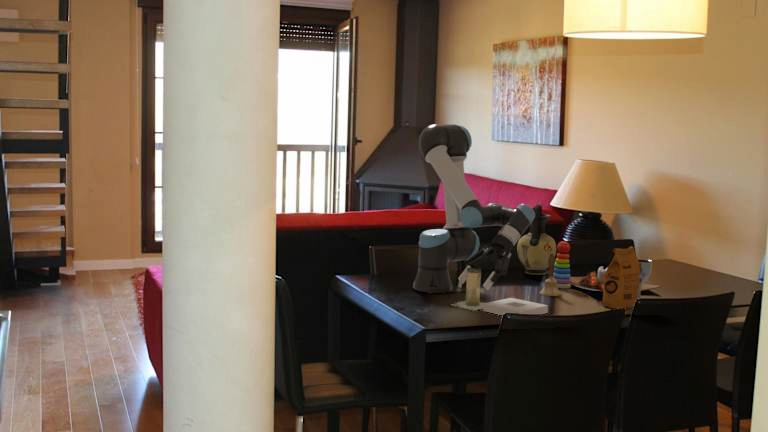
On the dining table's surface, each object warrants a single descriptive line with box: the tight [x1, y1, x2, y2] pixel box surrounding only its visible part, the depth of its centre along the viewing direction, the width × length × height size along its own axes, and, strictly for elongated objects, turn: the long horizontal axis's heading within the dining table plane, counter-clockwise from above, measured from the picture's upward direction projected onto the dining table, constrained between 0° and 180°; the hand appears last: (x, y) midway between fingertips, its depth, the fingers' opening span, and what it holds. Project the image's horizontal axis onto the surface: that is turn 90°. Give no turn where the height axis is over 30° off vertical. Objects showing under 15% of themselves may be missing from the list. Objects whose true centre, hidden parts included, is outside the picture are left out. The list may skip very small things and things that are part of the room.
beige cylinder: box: [464, 267, 482, 306], centre depth 314 cm, size 5×5×13 cm
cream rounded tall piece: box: [516, 204, 557, 276], centre depth 384 cm, size 18×17×30 cm
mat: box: [457, 300, 485, 310], centre depth 315 cm, size 12×12×1 cm
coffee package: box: [601, 245, 640, 310], centre depth 321 cm, size 10×12×22 cm
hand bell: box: [539, 253, 562, 297], centre depth 340 cm, size 8×8×16 cm
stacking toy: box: [553, 240, 572, 290], centre depth 354 cm, size 8×8×19 cm
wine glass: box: [638, 258, 653, 298], centre depth 336 cm, size 8×8×15 cm
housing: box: [482, 297, 549, 316], centre depth 307 cm, size 16×16×3 cm
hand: (472, 284), depth 314 cm, fingers open, 13 cm apart
